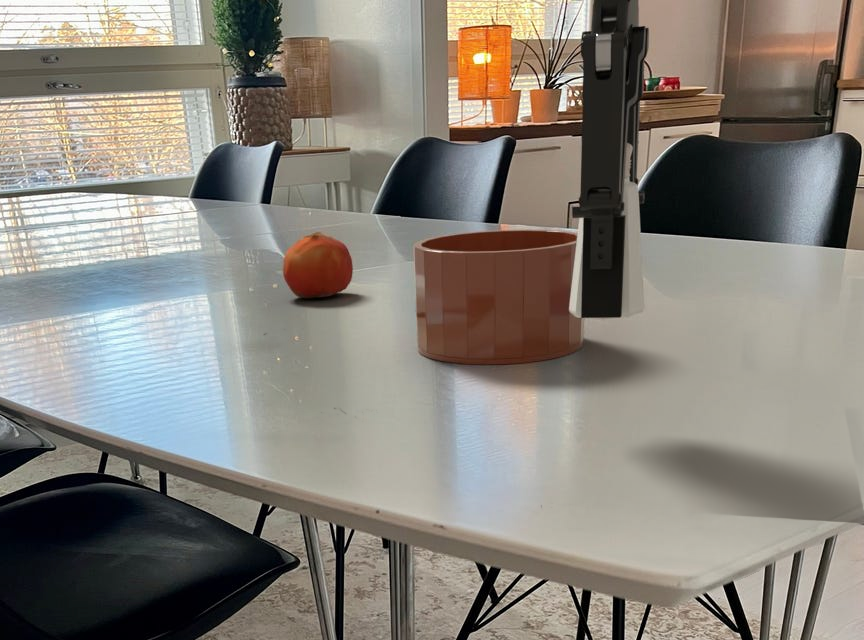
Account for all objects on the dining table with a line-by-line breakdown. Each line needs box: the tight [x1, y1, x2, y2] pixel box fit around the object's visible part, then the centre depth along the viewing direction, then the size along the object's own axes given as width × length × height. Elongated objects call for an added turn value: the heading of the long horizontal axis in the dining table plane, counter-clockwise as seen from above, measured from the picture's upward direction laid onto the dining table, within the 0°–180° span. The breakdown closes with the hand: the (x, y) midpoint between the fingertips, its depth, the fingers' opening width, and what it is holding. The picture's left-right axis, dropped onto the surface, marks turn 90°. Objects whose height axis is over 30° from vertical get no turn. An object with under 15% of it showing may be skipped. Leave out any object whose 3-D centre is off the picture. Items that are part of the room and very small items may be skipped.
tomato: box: [282, 231, 354, 299], centre depth 134 cm, size 9×9×8 cm
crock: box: [412, 229, 586, 366], centre depth 101 cm, size 17×17×10 cm
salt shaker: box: [569, 143, 645, 320], centre depth 71 cm, size 5×5×11 cm
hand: (606, 307), depth 74 cm, fingers closed on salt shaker, 5 cm apart
